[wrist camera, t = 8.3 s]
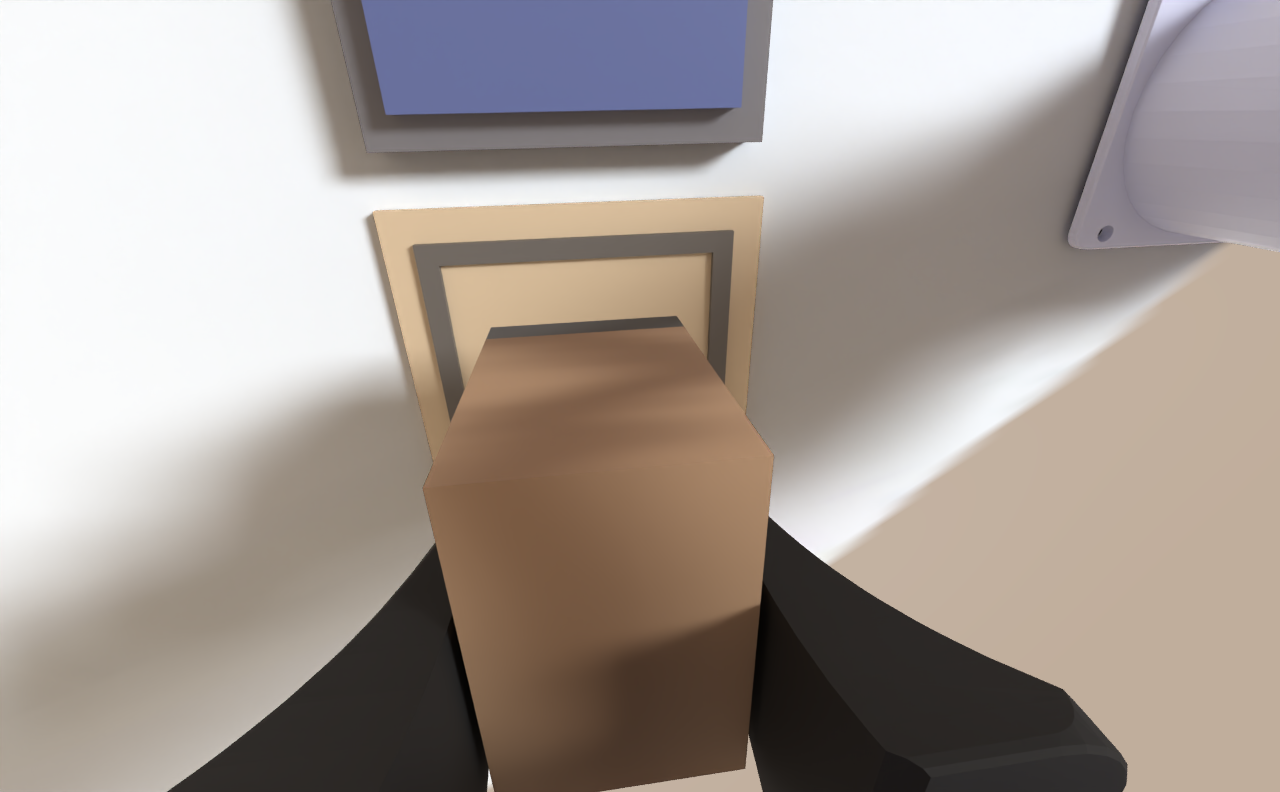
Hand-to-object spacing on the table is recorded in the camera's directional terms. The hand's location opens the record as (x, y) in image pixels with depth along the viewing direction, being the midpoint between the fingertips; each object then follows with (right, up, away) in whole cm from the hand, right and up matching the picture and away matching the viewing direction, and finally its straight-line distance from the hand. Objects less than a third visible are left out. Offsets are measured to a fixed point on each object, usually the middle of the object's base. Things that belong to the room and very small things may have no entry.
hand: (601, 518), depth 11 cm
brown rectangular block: (0, +1, +1) cm, 2 cm away
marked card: (-1, +3, +6) cm, 7 cm away
